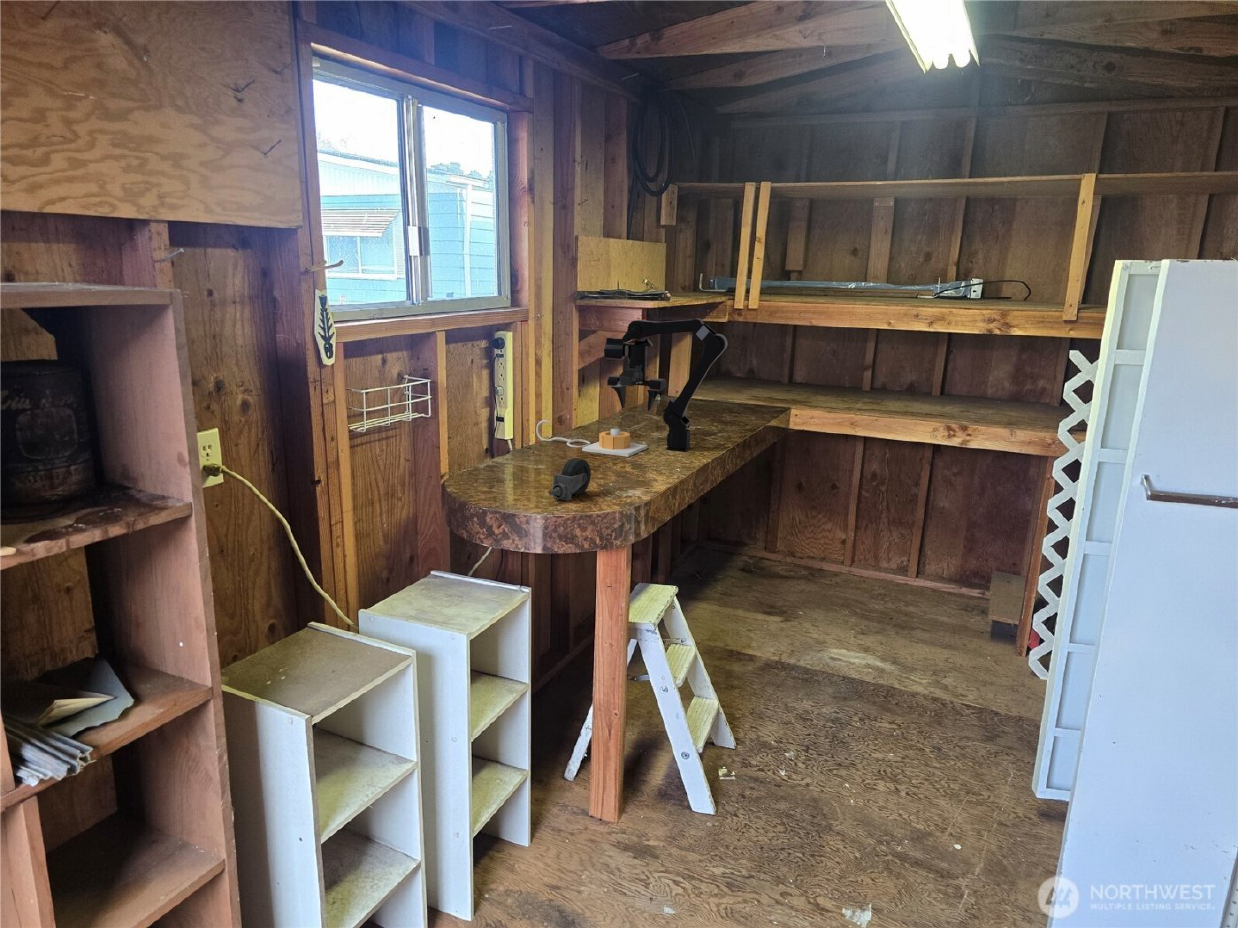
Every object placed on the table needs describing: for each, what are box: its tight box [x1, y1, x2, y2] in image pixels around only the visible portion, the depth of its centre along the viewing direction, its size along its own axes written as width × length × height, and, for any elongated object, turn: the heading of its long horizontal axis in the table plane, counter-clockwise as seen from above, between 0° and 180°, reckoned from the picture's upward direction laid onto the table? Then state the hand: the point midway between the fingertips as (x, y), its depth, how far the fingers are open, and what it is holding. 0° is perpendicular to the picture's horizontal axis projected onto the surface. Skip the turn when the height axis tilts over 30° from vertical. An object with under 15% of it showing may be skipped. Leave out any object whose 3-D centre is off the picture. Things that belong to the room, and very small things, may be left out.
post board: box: [581, 427, 648, 458], centre depth 243 cm, size 16×14×6 cm
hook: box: [535, 419, 591, 448], centre depth 253 cm, size 7×9×20 cm
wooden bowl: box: [598, 430, 631, 450], centre depth 244 cm, size 9×9×4 cm
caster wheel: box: [548, 457, 592, 502], centre depth 189 cm, size 6×10×15 cm
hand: (636, 409), depth 247 cm, fingers open, 9 cm apart
